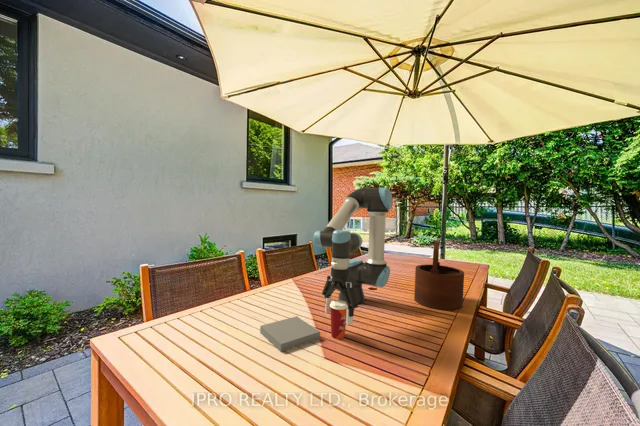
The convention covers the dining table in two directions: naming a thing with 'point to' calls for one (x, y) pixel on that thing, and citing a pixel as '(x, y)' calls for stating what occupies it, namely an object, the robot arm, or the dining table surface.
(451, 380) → the dining table surface
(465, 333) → the dining table surface
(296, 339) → the slate tile
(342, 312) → the paper cup
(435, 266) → the wooden bucket
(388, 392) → the dining table surface
